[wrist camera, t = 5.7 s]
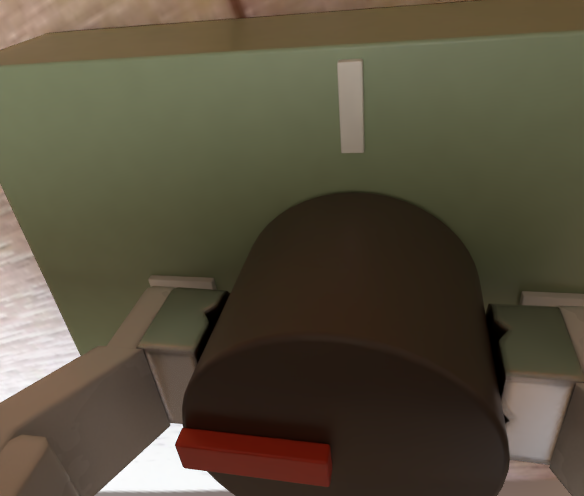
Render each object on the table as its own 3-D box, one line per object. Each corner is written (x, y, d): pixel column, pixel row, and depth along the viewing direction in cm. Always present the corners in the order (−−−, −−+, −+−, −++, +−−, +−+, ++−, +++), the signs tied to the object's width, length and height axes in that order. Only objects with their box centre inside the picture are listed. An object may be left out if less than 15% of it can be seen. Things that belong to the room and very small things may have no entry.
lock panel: (804, -25, 8) (986, 9, 5) (642, 366, 13) (699, 479, 10) (47, 32, 11) (-62, 71, 8) (150, 331, 16) (101, 412, 13)
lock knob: (494, 190, 8) (546, 372, 5) (467, 380, 10) (491, 583, 7) (229, 189, 9) (132, 342, 6) (261, 364, 11) (205, 536, 8)
